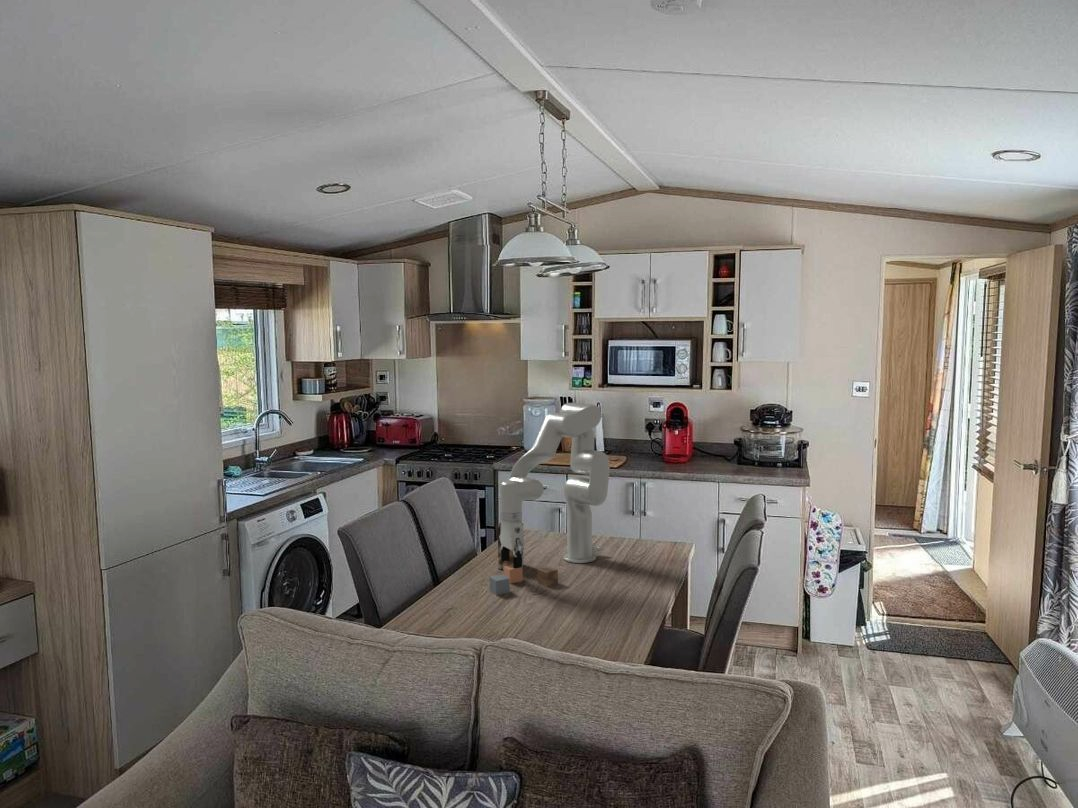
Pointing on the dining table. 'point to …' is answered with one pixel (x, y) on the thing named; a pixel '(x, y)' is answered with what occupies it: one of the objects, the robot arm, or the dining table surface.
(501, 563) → the coffee box
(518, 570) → the rust block
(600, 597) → the dining table surface
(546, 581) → the walnut block
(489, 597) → the dining table surface
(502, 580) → the slate block
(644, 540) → the dining table surface
